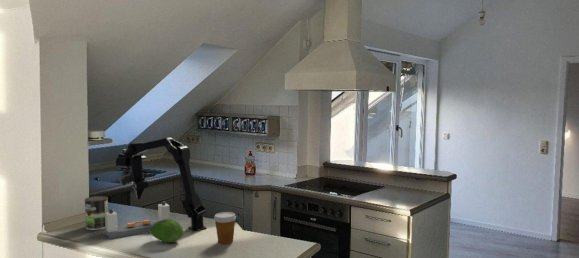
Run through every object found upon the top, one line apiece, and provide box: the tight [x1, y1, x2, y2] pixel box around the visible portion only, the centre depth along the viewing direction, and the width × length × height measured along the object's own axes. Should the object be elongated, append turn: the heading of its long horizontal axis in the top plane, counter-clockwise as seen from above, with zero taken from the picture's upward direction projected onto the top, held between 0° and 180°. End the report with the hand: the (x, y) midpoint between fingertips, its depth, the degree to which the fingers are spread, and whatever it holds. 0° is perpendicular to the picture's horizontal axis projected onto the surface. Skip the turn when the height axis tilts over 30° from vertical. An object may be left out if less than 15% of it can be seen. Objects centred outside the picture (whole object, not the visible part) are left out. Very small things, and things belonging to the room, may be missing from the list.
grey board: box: [105, 219, 160, 240], centre depth 215 cm, size 8×28×2 cm, turn 123°
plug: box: [157, 200, 171, 221], centre depth 221 cm, size 5×4×10 cm
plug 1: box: [105, 208, 119, 232], centre depth 208 cm, size 5×4×10 cm
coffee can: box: [84, 195, 109, 231], centre depth 222 cm, size 10×10×14 cm
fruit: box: [149, 218, 184, 244], centre depth 200 cm, size 15×10×10 cm, turn 64°
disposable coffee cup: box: [213, 211, 237, 245], centre depth 198 cm, size 10×10×12 cm
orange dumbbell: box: [126, 219, 151, 227], centre depth 215 cm, size 3×10×2 cm, turn 122°
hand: (138, 199), depth 228 cm, fingers closed
